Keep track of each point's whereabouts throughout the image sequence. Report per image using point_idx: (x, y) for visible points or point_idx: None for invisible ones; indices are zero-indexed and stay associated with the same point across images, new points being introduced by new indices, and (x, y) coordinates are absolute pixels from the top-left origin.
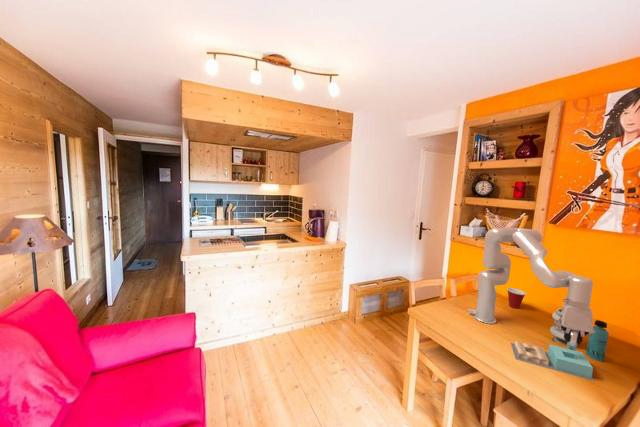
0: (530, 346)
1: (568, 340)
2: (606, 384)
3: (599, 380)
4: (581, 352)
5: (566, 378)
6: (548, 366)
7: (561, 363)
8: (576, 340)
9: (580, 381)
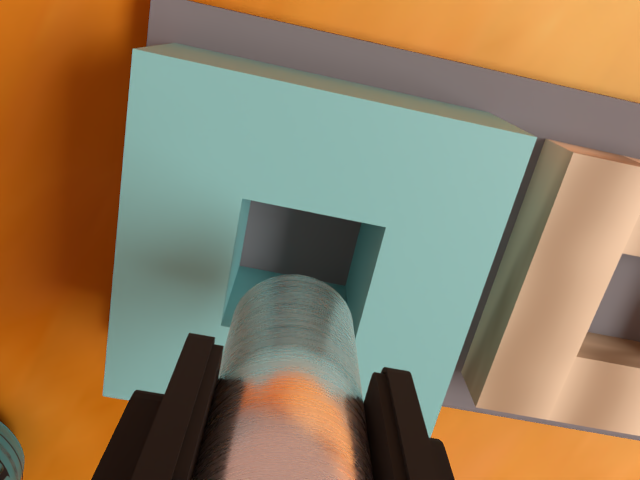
0: (602, 396)
1: (397, 391)
2: (42, 46)
3: (82, 98)
4: (109, 393)
5: (422, 11)
6: (548, 127)
7: (465, 116)
8: (249, 402)
9: (295, 5)
